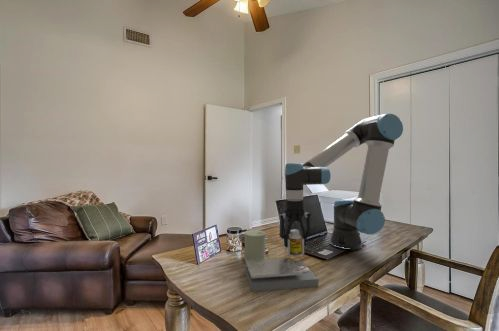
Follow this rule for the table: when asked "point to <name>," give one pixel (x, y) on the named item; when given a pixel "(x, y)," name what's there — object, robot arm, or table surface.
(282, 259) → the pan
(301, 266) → the scale base
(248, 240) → the can
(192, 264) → the table surface
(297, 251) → the supplement bottle
